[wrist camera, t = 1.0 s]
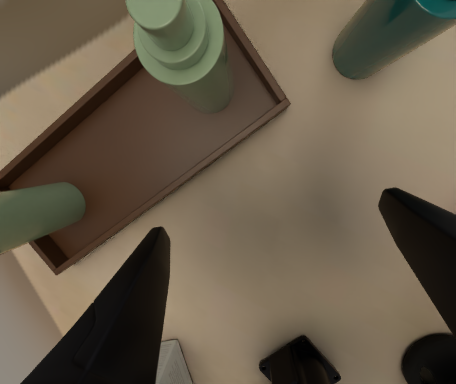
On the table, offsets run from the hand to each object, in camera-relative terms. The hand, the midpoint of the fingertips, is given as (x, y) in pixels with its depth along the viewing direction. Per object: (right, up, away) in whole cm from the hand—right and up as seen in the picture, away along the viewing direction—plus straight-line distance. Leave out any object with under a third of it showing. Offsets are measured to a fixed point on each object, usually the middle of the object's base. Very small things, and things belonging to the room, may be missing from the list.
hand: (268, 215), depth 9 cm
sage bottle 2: (-3, +10, +11) cm, 16 cm away
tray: (-11, +5, +13) cm, 18 cm away
